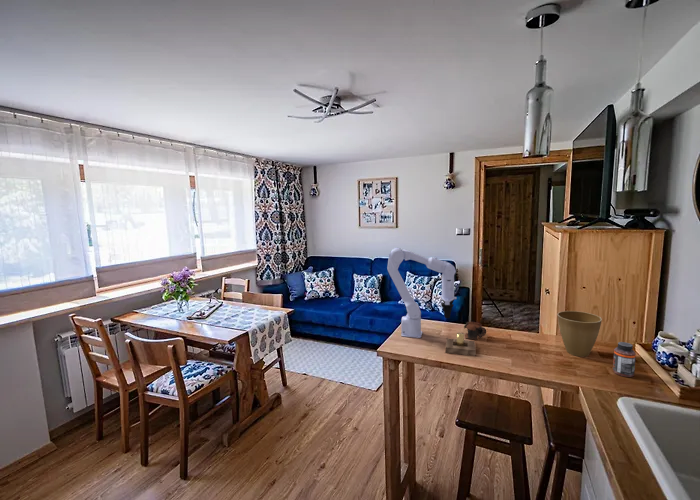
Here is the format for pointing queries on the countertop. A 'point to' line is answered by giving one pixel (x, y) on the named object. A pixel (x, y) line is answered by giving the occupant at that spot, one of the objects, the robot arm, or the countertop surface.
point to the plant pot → (579, 331)
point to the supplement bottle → (624, 360)
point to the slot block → (460, 347)
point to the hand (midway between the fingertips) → (447, 315)
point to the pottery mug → (474, 330)
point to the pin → (460, 339)
